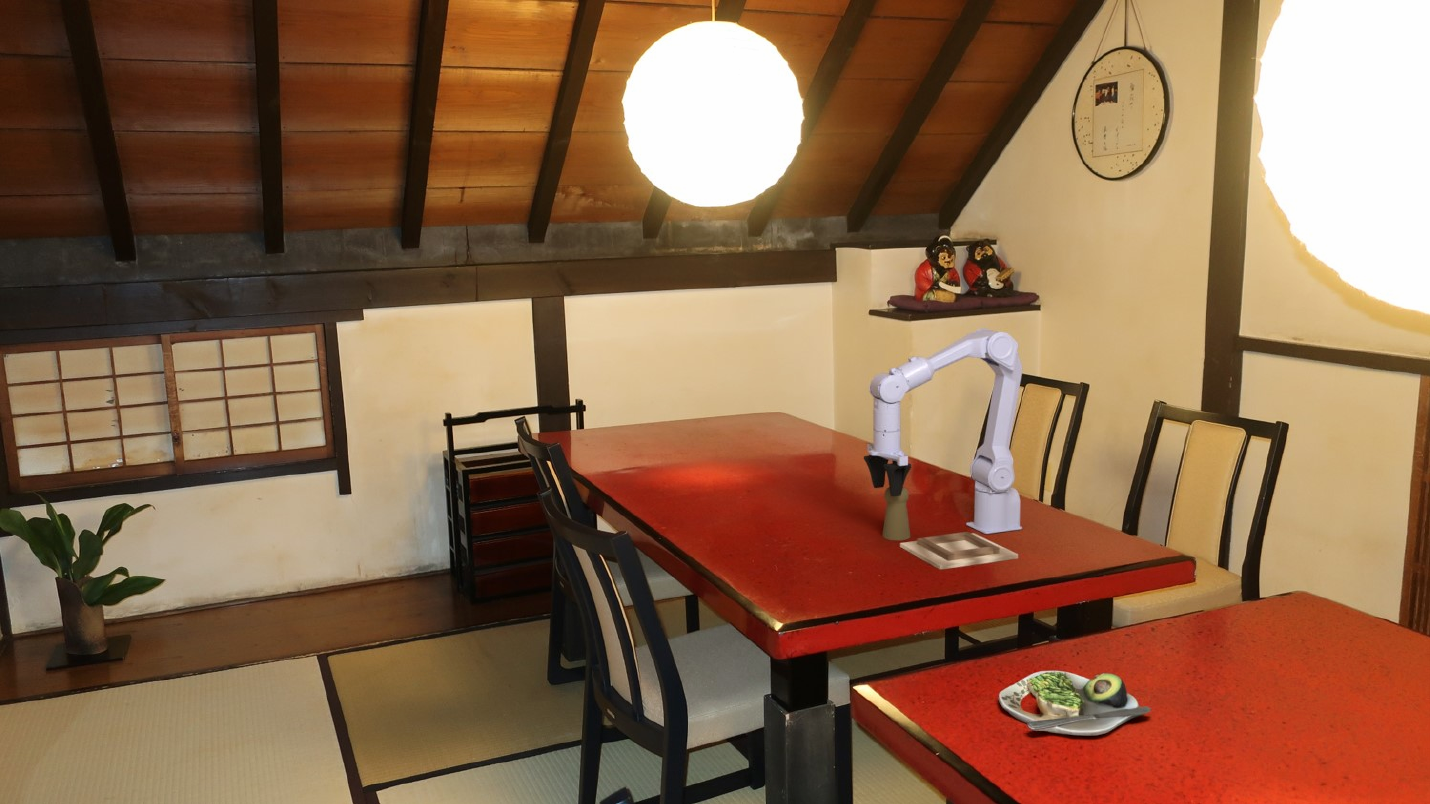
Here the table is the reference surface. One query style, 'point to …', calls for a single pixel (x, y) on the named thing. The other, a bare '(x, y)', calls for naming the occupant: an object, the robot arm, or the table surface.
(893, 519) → the olive tapered peg
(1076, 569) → the table surface
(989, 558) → the socket board
